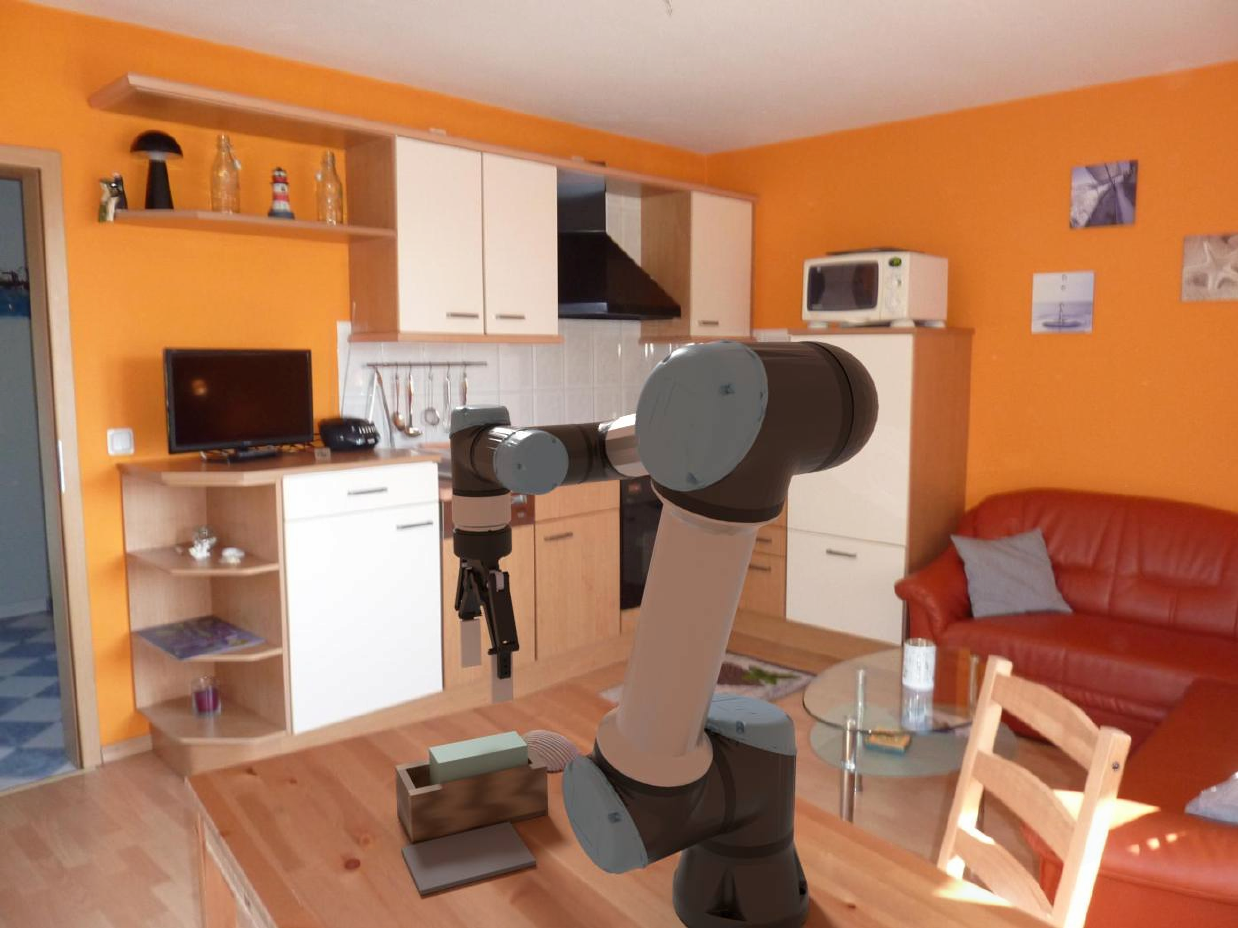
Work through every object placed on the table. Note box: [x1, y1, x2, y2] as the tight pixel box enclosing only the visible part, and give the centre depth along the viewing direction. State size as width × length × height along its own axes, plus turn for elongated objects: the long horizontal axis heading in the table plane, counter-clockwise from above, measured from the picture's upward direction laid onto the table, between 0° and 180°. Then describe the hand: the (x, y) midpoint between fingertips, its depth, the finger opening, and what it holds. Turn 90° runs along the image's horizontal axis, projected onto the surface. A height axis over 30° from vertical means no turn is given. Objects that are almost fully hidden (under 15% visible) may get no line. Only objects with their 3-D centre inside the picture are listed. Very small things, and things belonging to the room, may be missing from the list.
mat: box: [400, 822, 537, 896], centre depth 112 cm, size 10×14×1 cm
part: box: [428, 730, 528, 785], centre depth 122 cm, size 12×5×5 cm, turn 115°
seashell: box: [520, 729, 582, 773], centre depth 140 cm, size 10×6×10 cm
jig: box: [394, 740, 549, 845], centre depth 122 cm, size 18×9×7 cm, turn 115°
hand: (485, 682), depth 122 cm, fingers open, 13 cm apart
